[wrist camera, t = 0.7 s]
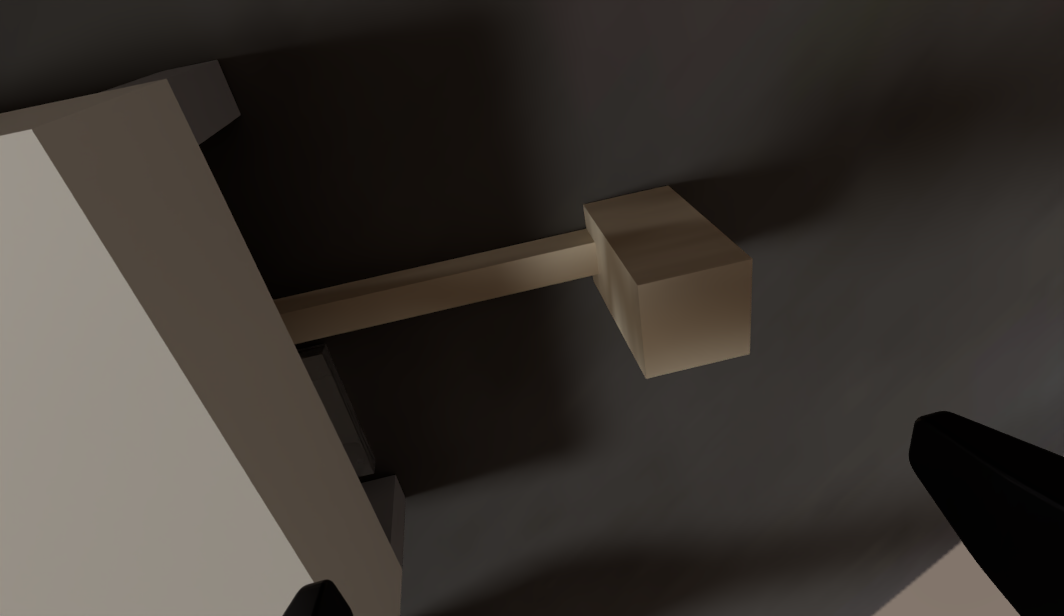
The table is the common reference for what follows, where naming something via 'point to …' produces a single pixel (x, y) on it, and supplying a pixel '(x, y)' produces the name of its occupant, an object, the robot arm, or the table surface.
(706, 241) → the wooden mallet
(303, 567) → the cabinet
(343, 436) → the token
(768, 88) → the table surface
